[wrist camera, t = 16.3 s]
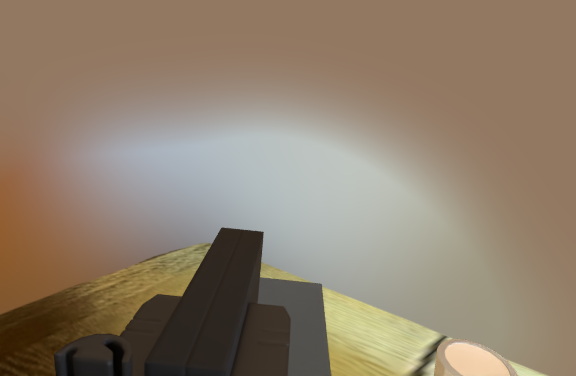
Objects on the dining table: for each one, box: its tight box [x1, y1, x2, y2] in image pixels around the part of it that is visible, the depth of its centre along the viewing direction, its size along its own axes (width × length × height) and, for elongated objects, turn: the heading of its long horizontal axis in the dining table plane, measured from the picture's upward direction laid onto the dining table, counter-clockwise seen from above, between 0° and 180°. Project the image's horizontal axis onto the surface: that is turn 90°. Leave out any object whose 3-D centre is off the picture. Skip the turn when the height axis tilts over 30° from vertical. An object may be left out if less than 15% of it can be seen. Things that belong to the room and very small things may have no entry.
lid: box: [257, 277, 331, 376], centre depth 30 cm, size 16×12×1 cm
